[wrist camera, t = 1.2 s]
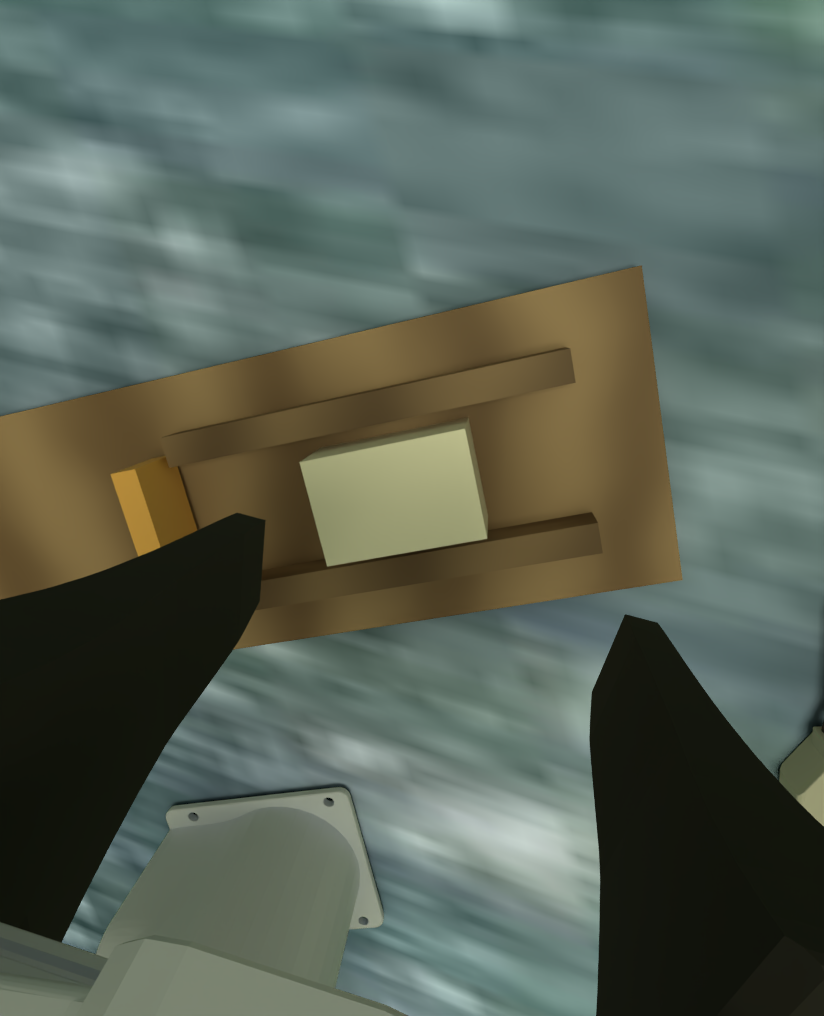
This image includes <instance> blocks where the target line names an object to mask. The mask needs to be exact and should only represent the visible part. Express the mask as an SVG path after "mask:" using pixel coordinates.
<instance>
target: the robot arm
mask: <svg viewBox="0 0 824 1016" xmlns="http://www.w3.org/2000/svg"><path fill="white" fill-rule="evenodd" d="M265 522H266V520H263V519H260V518H256V517H252V516H248V515H244V514H241V513H235V514H232V515H230V516H227V517H225V518H223V519H221V520H218V521H216V522H214V523H212V524H210V525H208V526H206V527H204V528H201V529H199V530H197V531H195V532H193V533H191V534H189V535H186V536H184V537H182V538H180V539H178V540H175V541H173V542H171V543H169V544H167V545H164V546H162V547H160V548H158V549H156V550H153V551H151V552H148V553H146V554H143V555H141V556H138V557H136V558H133V559H131V560H128V561H126V562H123V563H121V564H119V565H116V566H114V567H111V568H109V569H106V570H103V571H100V572H97V573H95V574H92V575H89V576H86V577H83V578H80V579H76V580H73V581H70V582H66V583H63V584H60V585H57V586H53V587H50V588H46V589H42V590H38V591H34V592H30V593H26V594H22V595H17V596H13V597H9V598H5V599H1V600H0V1016H408V1015H406V1014H403V1013H401V1012H399V1011H397V1010H395V1009H393V1008H391V1007H389V1006H387V1005H384V1004H381V1003H378V1002H375V1001H372V1000H369V999H366V998H363V997H360V996H357V995H354V994H351V993H347V992H344V991H341V990H338V989H335V986H336V982H337V978H338V974H339V969H340V965H341V961H342V957H343V953H344V949H345V944H346V940H347V936H348V932H349V929H360V928H374V927H379V926H380V925H382V923H383V919H384V912H383V909H382V905H381V902H380V898H379V894H378V891H377V887H376V884H375V880H374V877H373V873H372V870H371V866H370V863H369V859H368V855H367V852H366V848H365V845H364V841H363V838H362V834H361V831H360V827H359V824H358V820H357V816H356V813H355V809H354V806H353V802H352V799H351V795H350V793H349V791H347V790H346V789H345V788H342V787H335V788H326V789H317V790H308V791H299V792H290V793H282V794H273V795H264V796H255V797H246V798H237V799H228V800H219V801H211V802H202V803H193V804H184V805H175V806H172V807H171V808H170V809H169V810H168V812H167V814H166V820H167V823H168V825H169V828H170V831H169V832H168V834H167V835H166V837H165V838H164V840H163V841H162V843H161V845H160V846H159V848H158V849H157V851H156V852H155V854H154V855H153V857H152V858H151V860H150V862H149V863H148V865H147V866H146V868H145V869H144V871H143V872H142V874H141V876H140V877H139V879H138V880H137V882H136V883H135V885H134V886H133V888H132V889H131V891H130V893H129V894H128V896H127V897H126V899H125V900H124V902H123V903H122V905H121V907H120V908H119V910H118V911H117V913H116V914H115V916H114V917H113V919H112V921H111V922H110V924H109V925H108V927H107V929H106V931H105V933H104V935H103V937H102V940H101V942H100V944H99V947H98V950H97V952H96V954H94V953H91V952H88V951H85V950H82V949H79V948H76V947H73V946H70V945H67V944H64V943H61V942H62V940H63V938H64V936H65V934H66V932H67V930H68V928H69V926H70V924H71V921H72V919H73V917H74V915H75V913H76V911H77V909H78V907H79V905H80V903H81V901H82V899H83V897H84V895H85V893H86V891H87V889H88V887H89V885H90V883H91V881H92V879H93V877H94V875H95V873H96V871H97V870H98V868H99V866H100V864H101V862H102V860H103V858H104V856H105V854H106V852H107V850H108V848H109V846H110V844H111V842H112V840H113V838H114V837H115V835H116V833H117V831H118V829H119V827H120V826H121V824H122V822H123V820H124V818H125V816H126V815H127V813H128V811H129V809H130V807H131V805H132V804H133V802H134V800H135V798H136V796H137V794H138V792H139V791H140V789H141V787H142V785H143V784H144V782H145V780H146V778H147V777H148V775H149V773H150V771H151V770H152V768H153V766H154V764H155V763H156V761H157V759H158V757H159V756H160V754H161V752H162V750H163V749H164V747H165V745H166V744H167V742H168V741H169V739H170V738H171V736H172V735H173V733H174V732H175V730H176V729H177V727H178V726H179V724H180V723H181V721H182V720H183V719H184V717H185V716H186V715H187V713H188V712H189V710H190V709H191V708H192V706H193V705H194V703H195V702H196V701H197V699H198V698H199V696H200V695H201V694H202V692H203V691H204V690H205V688H206V687H207V685H208V684H209V683H210V681H211V680H212V678H213V677H214V676H215V674H216V673H217V672H218V670H219V669H220V667H221V666H222V664H223V663H224V662H225V660H226V659H227V657H228V656H229V655H230V653H231V652H232V650H233V649H234V647H235V646H236V645H237V643H238V642H239V640H240V638H241V636H242V634H243V633H244V631H245V629H246V627H247V625H248V623H249V621H250V619H251V617H252V615H253V614H254V612H255V610H256V608H257V606H258V604H259V602H260V592H261V578H262V564H263V550H264V536H265ZM590 753H591V765H592V777H593V788H594V799H595V811H596V822H597V833H598V844H599V859H600V933H599V963H598V993H597V1012H596V1016H824V826H823V825H822V824H821V823H820V822H818V821H817V820H816V819H815V818H814V817H813V816H812V815H811V814H810V813H809V812H808V811H807V810H806V809H805V808H804V807H803V806H802V805H801V804H800V803H799V802H798V801H797V800H796V799H795V798H794V797H793V796H792V795H791V794H790V793H789V791H788V790H787V789H786V788H785V787H784V786H783V785H782V784H781V783H780V782H779V781H778V780H777V779H776V778H775V776H774V775H773V774H772V773H771V772H770V771H769V770H768V769H767V768H766V767H765V766H764V765H763V763H762V762H761V761H760V760H759V759H758V758H757V757H756V755H755V754H754V753H753V752H752V751H751V749H750V748H749V747H748V746H747V745H746V743H745V742H744V741H743V740H742V738H741V737H740V736H739V735H738V733H737V732H736V731H735V730H734V729H733V727H732V726H731V725H730V724H729V722H728V721H727V720H726V718H725V717H724V716H723V715H722V713H721V712H720V711H719V709H718V708H717V707H716V705H715V704H714V703H713V701H712V700H711V699H710V697H709V696H708V694H707V693H706V692H705V690H704V689H703V687H702V686H701V685H700V683H699V682H698V680H697V679H696V678H695V676H694V675H693V673H692V672H691V670H690V669H689V667H688V666H687V665H686V663H685V662H684V660H683V659H682V657H681V656H680V654H679V653H678V651H677V650H676V648H675V647H674V645H673V644H672V642H671V641H670V640H669V638H668V637H667V635H666V634H665V632H664V631H663V630H662V628H661V627H660V625H659V624H658V623H656V622H652V621H649V620H645V619H641V618H637V617H633V616H630V615H626V614H625V616H624V618H623V621H622V623H621V625H620V628H619V630H618V632H617V635H616V637H615V639H614V642H613V644H612V646H611V649H610V651H609V653H608V656H607V658H606V660H605V663H604V665H603V667H602V670H601V672H600V675H599V677H598V679H597V682H596V684H595V686H594V689H593V691H592V700H591V716H590ZM327 797H328V798H331V799H333V801H329V800H327V799H326V798H327ZM193 813H196V814H197V815H198V816H197V815H194V814H193ZM363 917H366V918H363Z"/></svg>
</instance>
